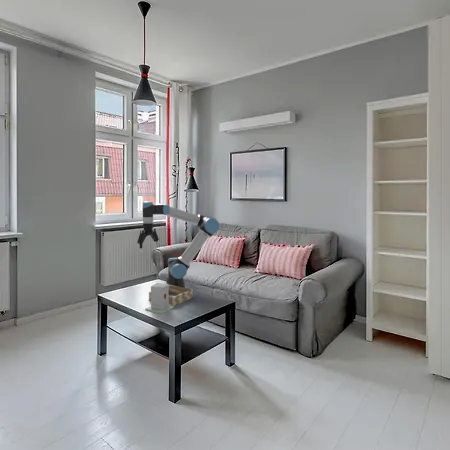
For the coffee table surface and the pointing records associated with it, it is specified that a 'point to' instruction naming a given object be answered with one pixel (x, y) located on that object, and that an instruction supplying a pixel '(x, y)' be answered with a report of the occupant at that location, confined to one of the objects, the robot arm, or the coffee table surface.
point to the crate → (178, 295)
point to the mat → (160, 310)
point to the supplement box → (159, 296)
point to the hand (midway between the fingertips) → (148, 251)
